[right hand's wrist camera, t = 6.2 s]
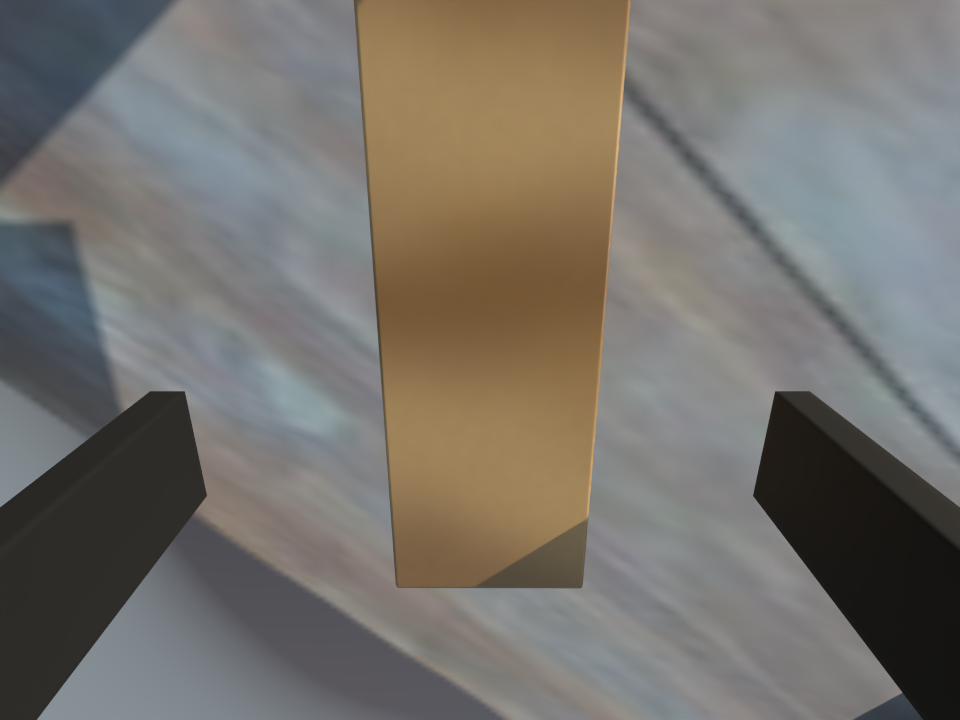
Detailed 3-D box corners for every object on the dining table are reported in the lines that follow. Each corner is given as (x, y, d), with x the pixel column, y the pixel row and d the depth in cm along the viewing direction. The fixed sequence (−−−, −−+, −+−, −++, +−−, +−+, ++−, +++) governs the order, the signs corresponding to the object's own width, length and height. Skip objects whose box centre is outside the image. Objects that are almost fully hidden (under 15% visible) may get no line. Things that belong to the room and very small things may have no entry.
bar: (546, 424, 22) (583, 589, 14) (427, 424, 22) (395, 589, 14) (588, -482, 13) (752, -1442, 5) (391, -481, 13) (249, -1430, 5)
